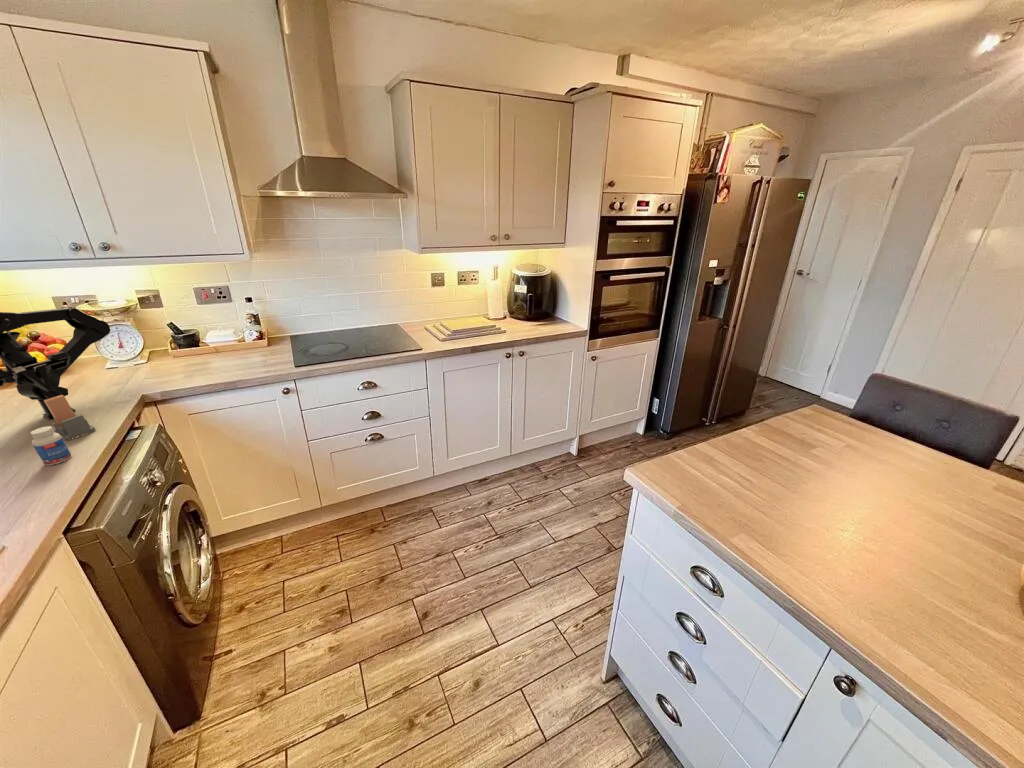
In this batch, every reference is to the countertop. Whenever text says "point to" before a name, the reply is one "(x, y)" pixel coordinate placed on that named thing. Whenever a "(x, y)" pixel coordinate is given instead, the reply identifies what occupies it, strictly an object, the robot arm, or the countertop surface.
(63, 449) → the pill bottle
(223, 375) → the countertop surface
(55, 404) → the orange tall block
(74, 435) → the switch base
